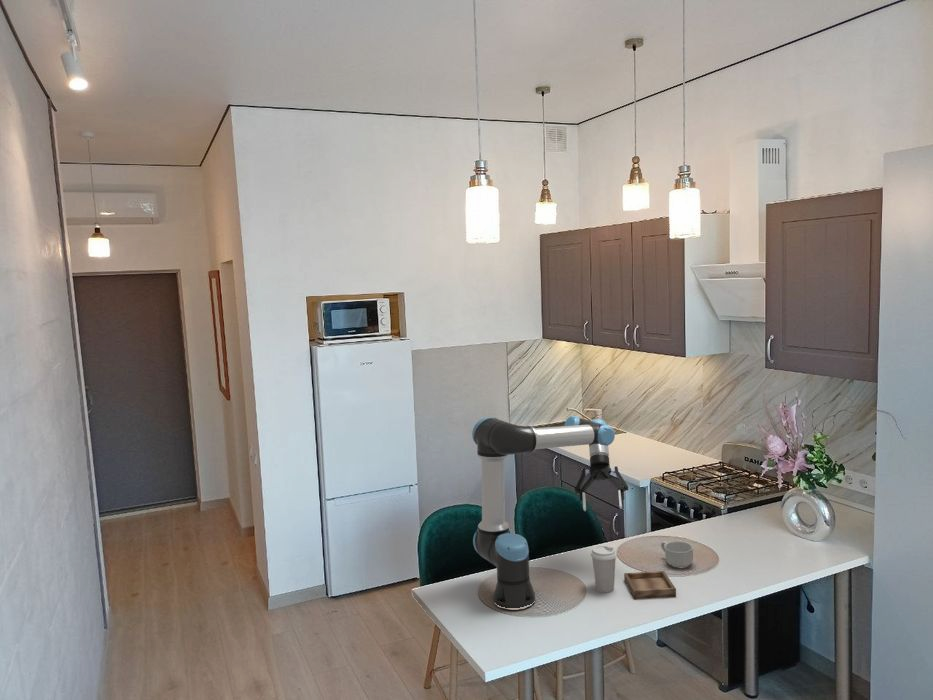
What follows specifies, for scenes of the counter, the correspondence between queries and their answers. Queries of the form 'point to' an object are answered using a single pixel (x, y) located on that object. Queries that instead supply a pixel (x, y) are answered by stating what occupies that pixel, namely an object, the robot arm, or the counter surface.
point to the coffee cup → (604, 567)
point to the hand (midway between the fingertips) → (602, 508)
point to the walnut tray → (649, 585)
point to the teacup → (678, 553)
